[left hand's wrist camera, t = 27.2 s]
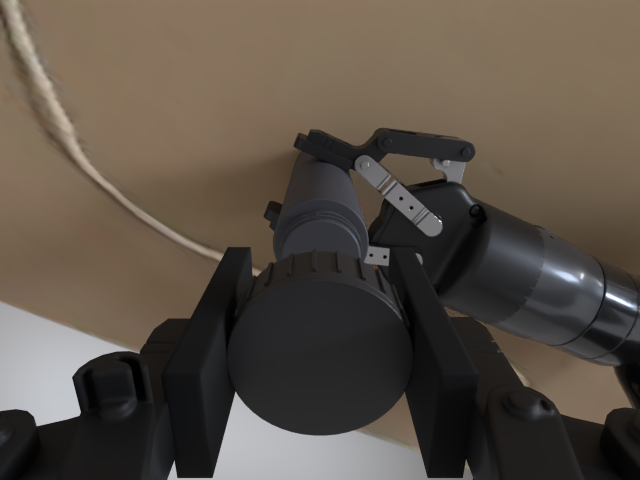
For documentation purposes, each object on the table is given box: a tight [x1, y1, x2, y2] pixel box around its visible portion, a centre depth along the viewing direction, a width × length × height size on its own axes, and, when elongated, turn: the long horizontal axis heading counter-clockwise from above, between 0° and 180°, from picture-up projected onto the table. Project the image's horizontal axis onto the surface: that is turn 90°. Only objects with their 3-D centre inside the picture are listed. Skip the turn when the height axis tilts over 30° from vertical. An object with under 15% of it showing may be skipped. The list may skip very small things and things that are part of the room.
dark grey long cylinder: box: [273, 152, 369, 262], centre depth 26 cm, size 4×4×18 cm
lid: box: [227, 249, 414, 435], centre depth 12 cm, size 5×5×2 cm
